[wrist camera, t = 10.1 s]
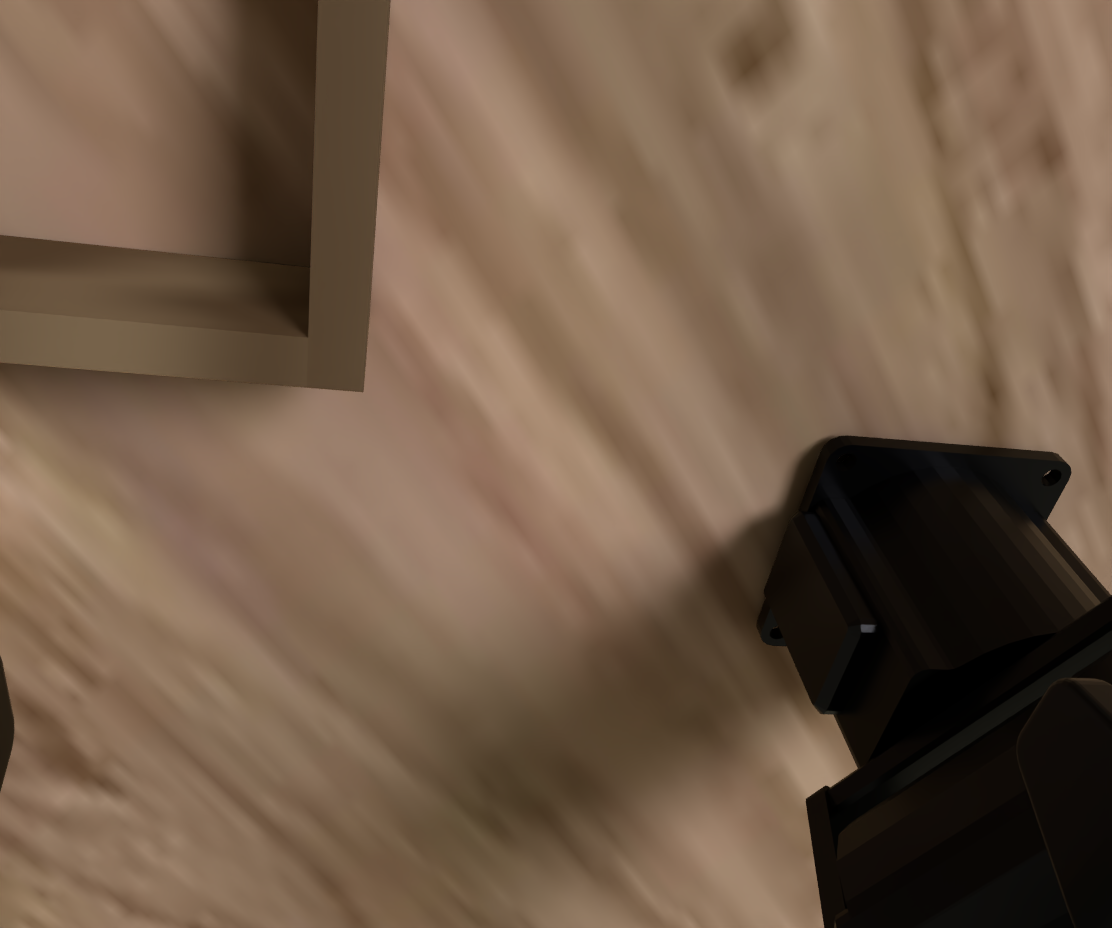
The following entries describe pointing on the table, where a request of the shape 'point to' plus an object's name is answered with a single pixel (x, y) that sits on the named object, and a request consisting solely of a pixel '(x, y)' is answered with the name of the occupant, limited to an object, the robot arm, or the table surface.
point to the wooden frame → (229, 262)
